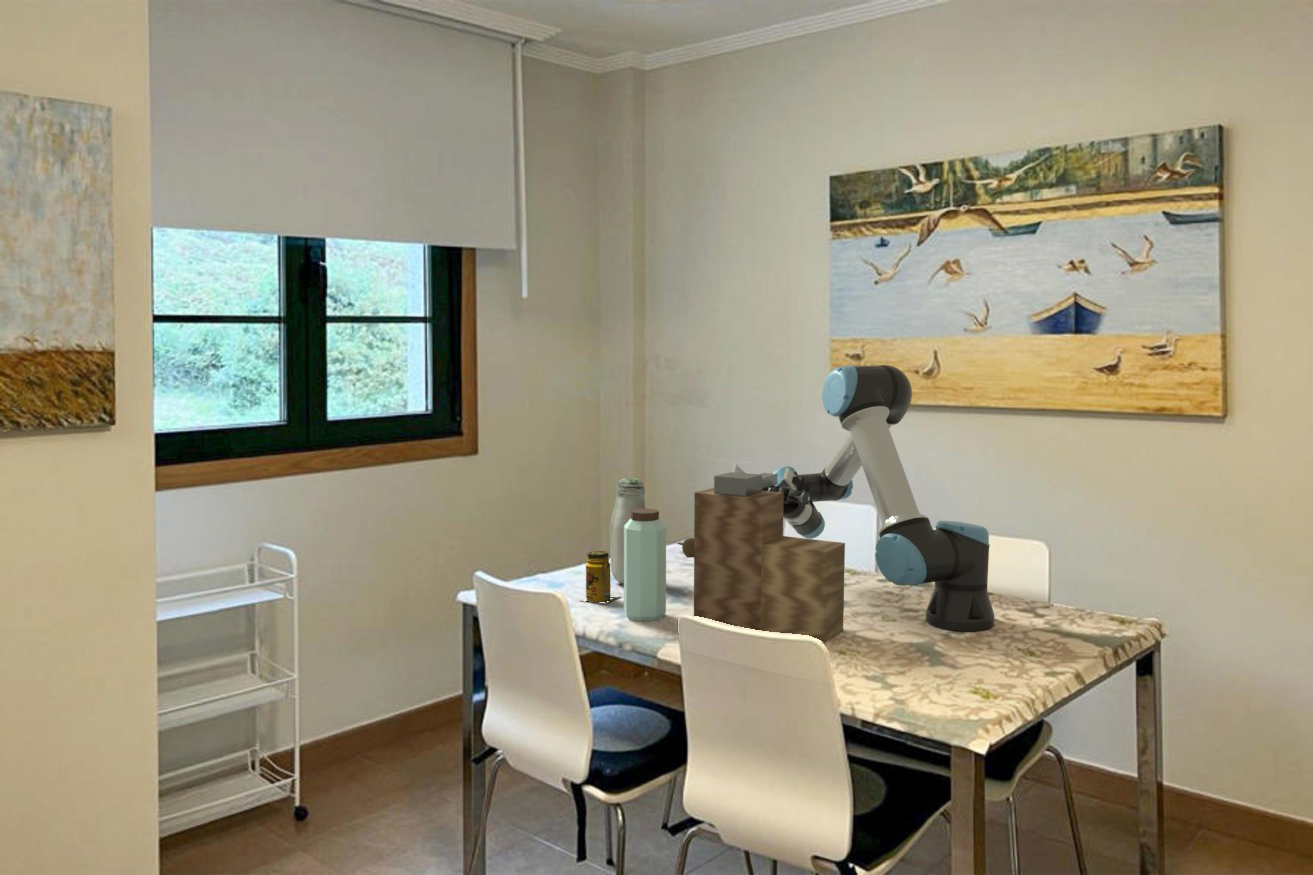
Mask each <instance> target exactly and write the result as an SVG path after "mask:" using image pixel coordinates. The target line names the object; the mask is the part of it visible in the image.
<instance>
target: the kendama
mask: <svg viewBox="0 0 1313 875" xmlns="http://www.w3.org/2000/svg"><path fill="white" fill-rule="evenodd" d="M676 544H677V545H680V546H682V548H681V549H682V552H683V554H684V555H685V556H686V557H687V558H691V557H694V537H687V538H686V539H684V540H683V542H677V543H676Z"/></svg>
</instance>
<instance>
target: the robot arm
mask: <svg viewBox="0 0 1313 875" xmlns="http://www.w3.org/2000/svg"><path fill="white" fill-rule="evenodd" d="M912 390H913V389H912V385H911V382H910V380H909V378H908V377H907V375H906V374H905V373H904V372H903V371H902V370H900V369H899V368H897V367H895V366H893V365H889V364H888V365H887V364H879V365H852V364H849V365H847V366H846V365H845V366H837V367H835V368H833V369H832V370H831V371H830V372H829V373H828V374H827V376H826V378H825V380H824V384H823V387H822V396H821V398H822V405H823V408H824V410H825V411H826V413H827V414H829V415H830V416H832V417H838V419H839V422H840V425H841V428H842V429H844V430H845V431H848V432H849V433H848V435H847V436H846V437H845V438H844V440H843V441H842V443H841V445H840V446H839V447H838V449H837V450H836V451H835V453H834V454H833V456H832V457H831V459H830V460H829V461H828V463H827V464H826V466H825V467H824V468H823V470H822V471H821V472H819V473H816V472H815V473H804V474H803V473H802V474H798V472H797V471H796V469H795V468H794V467H792V466H789V465H786V466H782V467H780V468H777V469H776V470H775V471H774V472H773V473H772V474H778V475H777V485H773V486H770V487H766V488H763V489H762V491H771V492H782V493H784V502H783V520H785V521H786V522H787V523H788V524H789V525H790V526H791V527H792V528H793V529H794V531H795V533H797V534H798V535H800V536H801V537H802V538H805V539H815V538H818V537H819V536H820V535H821V534H823V532H824V529H825V527H826V526H825V525H826V522H825V519H824V517H823V515H822V513H821V512H820V511H818V509H817V508H816V506H815V504H814V503H817V502H830V501H831V502H832V501H833V502H836V501H840V500H844V499H845V500H846V499H847V498H849V497H850V496H851V495H852V493H853V491H852V490H853V488H854V482H853V478H854V477H855V476H856V475H857V473H858V471H859V470H860V469H861V468H863V472H864V475H865V478H866V481H867V483H868V486H869V489H870V492H871V496H872V498H873V501H874V505H875V506H876V509H877V512H878V515H879V518H880V521H881V523H882V525H881V528H880V530H879V531H878V535H879V539H878V540H877V542H876V544H875V550H876V551H875V552H874V554H875V555H874V556H875V557H874V558H875V562H876V566H878V567H877V568H878V570H879V571H880V572H881V574H882V576H883V577H884V578H885V579H886V580H887V581H888V582H890V583H891V584H894V585H896V586H901V587H902V586H903V587H904V586H911V587H912V586H914V587H915V586H919V585H922V584H930V583H931V584H932V583H934V589H933V591H932V593H931V596H930V599H929V603H928V605H927V607H926V610H925V611H926V612H925V622H927V623H928V624H930V625H931V626H934V627H936V628H941V629H946V630H950V631H951V630H952V631H960V632H961V631H962V632H976V631H977V632H978V631H986V630H989V629H992V628H993V627H994V626H995V613H994V610H993V606H992V603H991V599H990V596H989V593H988V578H989V561H990V560H989V559H990V542H989V541H990V540H989V539H990V536H989V531H988V529H986V528H985V527H984V526H981V525H977V524H974V523H973V524H972V523H968V522H962V521H961V522H960V521H953V520H939V521H937V522H936V525H935V529H933V527H932V524H931V521H930V518H929V516H926V515H924V514H922V513H920V511H919V508H918V506H917V503H916V500H915V497H914V494H913V492H912V489H911V486H910V483H909V480H908V477H907V476H906V472H905V470H904V467H903V463H902V461H901V458H900V455H899V453H898V450H897V447H896V444H895V442H894V438H893V437H892V432H891V431H890V428H891V427H892V426H895V425H897V424H899V423H900V422H901V420H902V419H903V418H904V416H905V415H906V413H907V412H908V411H909V408H910V406H911V402H912V399H913V391H912ZM732 466H733V467H732V470H731V472H735V473H746V472H745V471H744V470H743V469H742V468H741V467H740V466H739V465H738V464H736V463H734V464H733V465H732Z"/></svg>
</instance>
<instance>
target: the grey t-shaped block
mask: <svg viewBox="0 0 1313 875" xmlns="http://www.w3.org/2000/svg"><path fill="white" fill-rule="evenodd" d="M777 475H778V474H773V473H772V472H771V473H769V472H768V473H767V472H763V473H759V474H758V473H757V474H756V473H747V472H745V473H735V472H732V471H729V472H726V473H723V474H718V475H714V476H713V477H714V478H713V485H714V486H713V488H714V494H722V495H732V496H743V497H747V496H750V495H754V494H757V493H761V492H762V489H763V488H766V487H770V486H773V485H777Z"/></svg>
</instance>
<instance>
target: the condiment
mask: <svg viewBox="0 0 1313 875" xmlns="http://www.w3.org/2000/svg"><path fill="white" fill-rule="evenodd" d="M609 556H610V554H609V552H607V551H604V550H593V551H592V550H591V551H589V552H588V553H587V556H586V561H587V562H586V565H585V598H587V599H586V600H587V601H589V602H595V603H594V604H600V605H606V604H609V603H608V602H607V601H611V602H614V601H615V600H617V599H619V598H621V597H622V595H617V596H618V597H610V596H612V595H611V562H610V558H609ZM610 598H613V599H612V600H610ZM580 602H585V603H587V602H586V601H583V599H581V600H580ZM589 602H588V603H589ZM599 602H605V603H599Z"/></svg>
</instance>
